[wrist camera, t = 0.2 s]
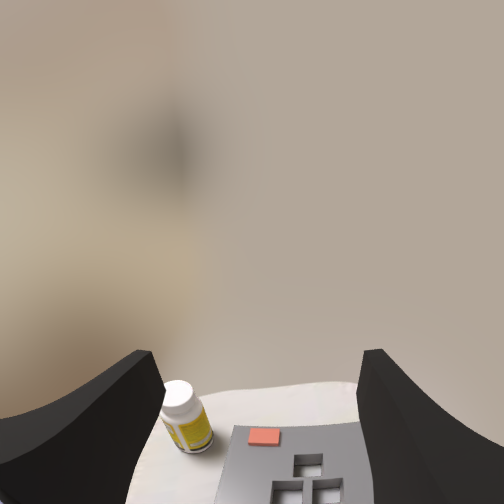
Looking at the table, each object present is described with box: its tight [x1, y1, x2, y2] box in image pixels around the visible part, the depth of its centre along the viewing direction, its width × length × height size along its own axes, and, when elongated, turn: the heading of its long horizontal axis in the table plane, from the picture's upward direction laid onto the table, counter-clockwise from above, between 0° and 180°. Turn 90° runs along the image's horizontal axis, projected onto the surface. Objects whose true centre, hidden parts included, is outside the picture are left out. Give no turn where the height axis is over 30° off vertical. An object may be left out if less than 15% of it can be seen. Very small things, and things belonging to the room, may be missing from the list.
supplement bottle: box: [160, 380, 213, 453], centre depth 25 cm, size 5×5×8 cm
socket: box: [214, 422, 374, 504], centre depth 18 cm, size 14×16×3 cm
